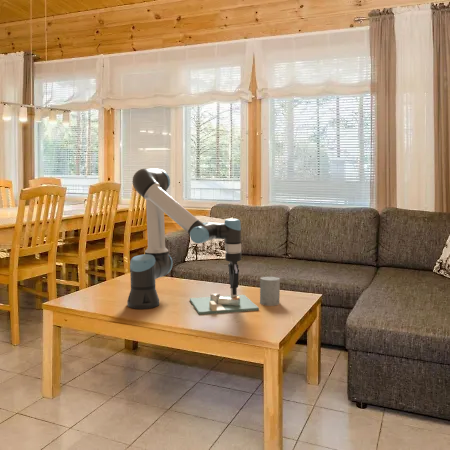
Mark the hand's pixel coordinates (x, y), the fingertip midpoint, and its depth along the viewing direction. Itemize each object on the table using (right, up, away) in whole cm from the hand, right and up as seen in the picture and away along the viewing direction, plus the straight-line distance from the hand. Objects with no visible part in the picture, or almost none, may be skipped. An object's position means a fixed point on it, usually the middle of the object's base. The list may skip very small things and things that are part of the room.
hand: (233, 300), depth 233 cm
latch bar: (-4, -1, -1) cm, 5 cm away
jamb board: (-5, -2, +1) cm, 6 cm away
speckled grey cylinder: (+18, -2, +5) cm, 18 cm away
